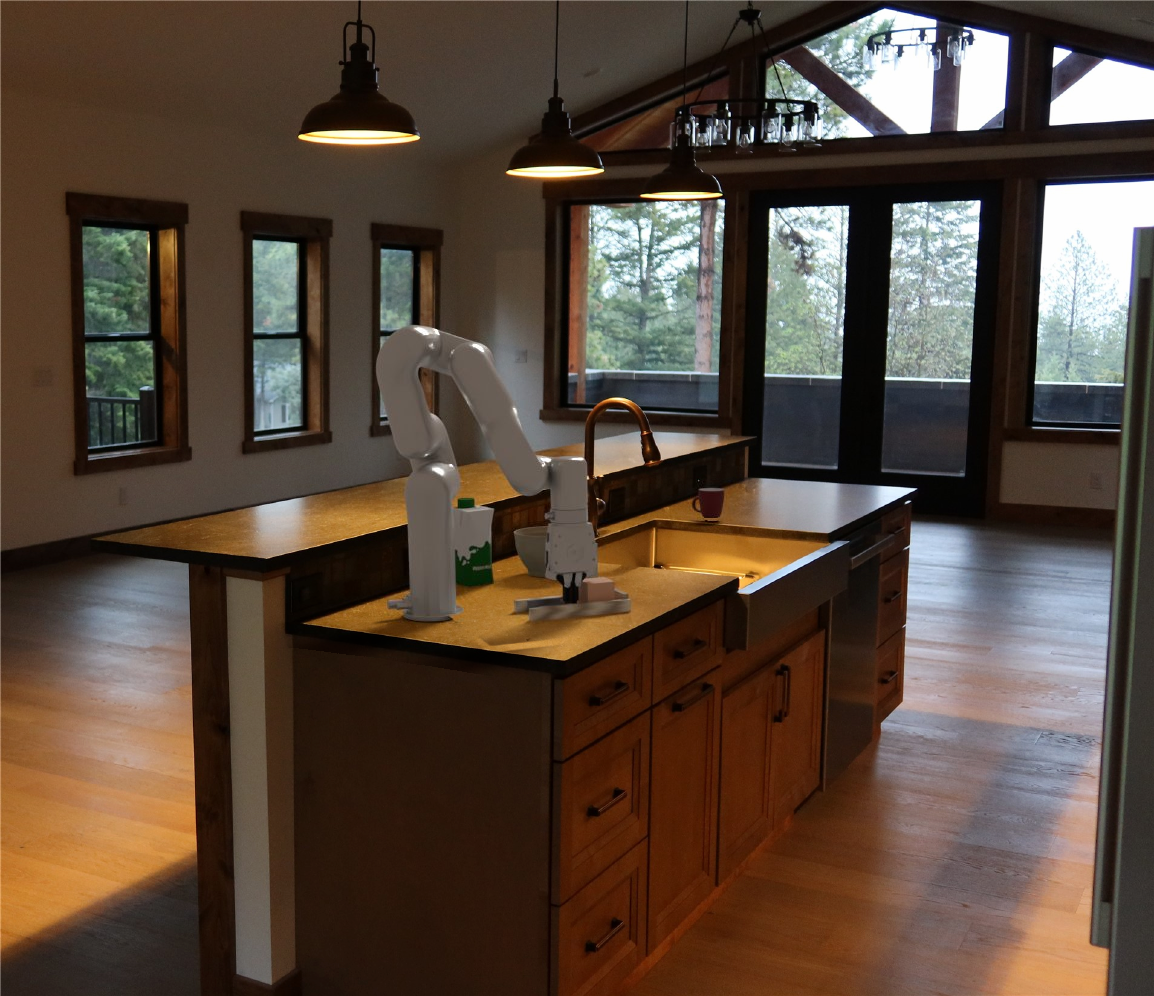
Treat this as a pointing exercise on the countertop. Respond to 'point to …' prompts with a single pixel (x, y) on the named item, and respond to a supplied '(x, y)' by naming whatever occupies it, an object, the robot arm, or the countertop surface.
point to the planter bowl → (532, 549)
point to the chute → (570, 607)
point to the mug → (710, 502)
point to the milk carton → (472, 543)
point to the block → (596, 590)
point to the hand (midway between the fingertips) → (570, 604)
